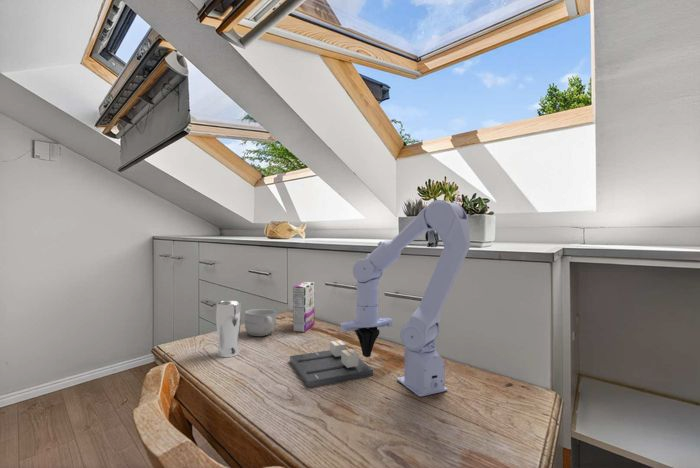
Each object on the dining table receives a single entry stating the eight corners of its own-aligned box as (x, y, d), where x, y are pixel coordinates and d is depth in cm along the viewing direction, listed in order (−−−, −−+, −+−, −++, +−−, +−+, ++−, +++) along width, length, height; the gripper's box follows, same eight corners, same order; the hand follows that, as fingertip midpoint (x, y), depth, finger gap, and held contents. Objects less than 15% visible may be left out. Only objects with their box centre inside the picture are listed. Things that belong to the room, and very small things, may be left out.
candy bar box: (302, 323, 131) (303, 281, 131) (314, 324, 130) (315, 282, 130) (291, 331, 120) (292, 286, 120) (305, 332, 119) (305, 286, 119)
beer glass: (244, 350, 101) (245, 300, 101) (234, 358, 95) (235, 305, 94) (222, 349, 102) (223, 299, 102) (210, 357, 95) (211, 304, 95)
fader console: (373, 375, 85) (373, 369, 85) (308, 387, 78) (308, 381, 78) (345, 352, 100) (345, 347, 100) (289, 361, 93) (289, 355, 93)
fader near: (358, 365, 86) (358, 353, 86) (347, 367, 85) (347, 355, 85) (351, 360, 90) (351, 348, 90) (341, 362, 88) (341, 350, 88)
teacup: (242, 331, 120) (242, 309, 120) (273, 328, 125) (273, 306, 125) (248, 343, 107) (248, 318, 107) (281, 339, 112) (282, 315, 112)
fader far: (345, 355, 93) (345, 344, 93) (335, 356, 92) (335, 345, 92) (339, 350, 97) (339, 339, 97) (330, 351, 96) (330, 340, 96)
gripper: (383, 299, 96) (382, 347, 96) (336, 303, 90) (335, 354, 90) (396, 304, 89) (395, 355, 89) (346, 309, 83) (346, 364, 83)
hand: (366, 355), depth 89 cm, fingers closed
